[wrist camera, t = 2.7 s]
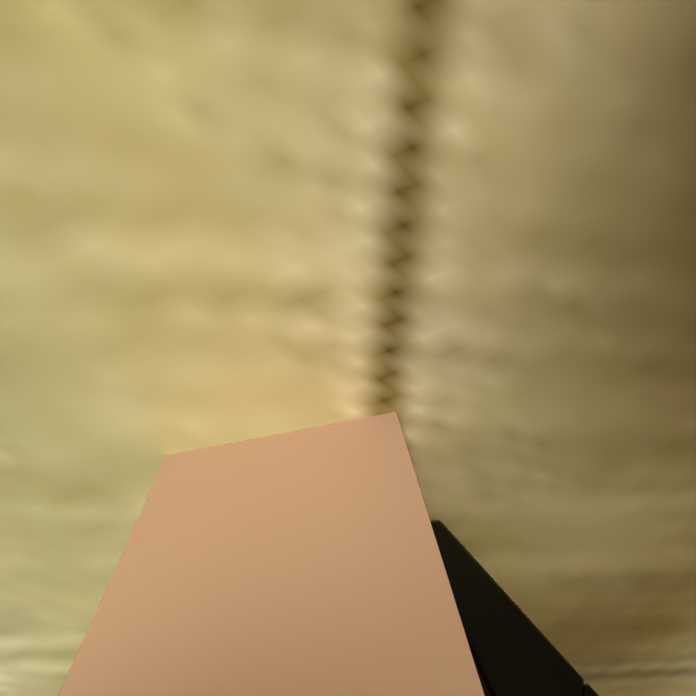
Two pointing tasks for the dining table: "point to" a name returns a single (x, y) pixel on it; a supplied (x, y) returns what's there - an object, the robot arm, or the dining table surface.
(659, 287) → the dining table surface
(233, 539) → the clay block
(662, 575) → the dining table surface
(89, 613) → the dining table surface
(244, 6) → the dining table surface
